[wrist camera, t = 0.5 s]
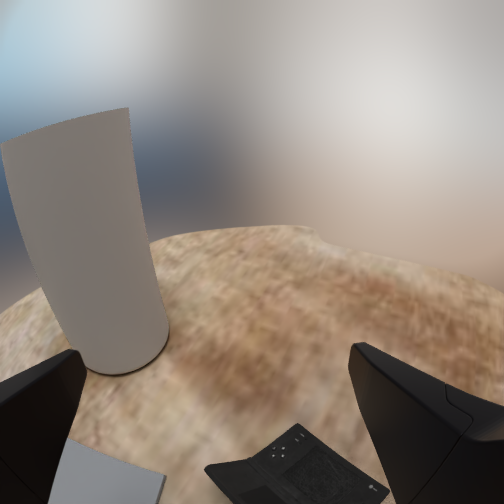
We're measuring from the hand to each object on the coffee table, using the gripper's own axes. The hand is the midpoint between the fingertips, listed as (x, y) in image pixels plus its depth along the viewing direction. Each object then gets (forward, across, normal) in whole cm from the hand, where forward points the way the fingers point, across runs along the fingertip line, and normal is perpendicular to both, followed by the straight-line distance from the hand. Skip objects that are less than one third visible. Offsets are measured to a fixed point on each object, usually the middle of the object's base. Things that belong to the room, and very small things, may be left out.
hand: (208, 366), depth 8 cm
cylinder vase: (+21, +14, +13) cm, 29 cm away
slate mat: (0, +13, +18) cm, 22 cm away
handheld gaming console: (+3, -5, +18) cm, 18 cm away
